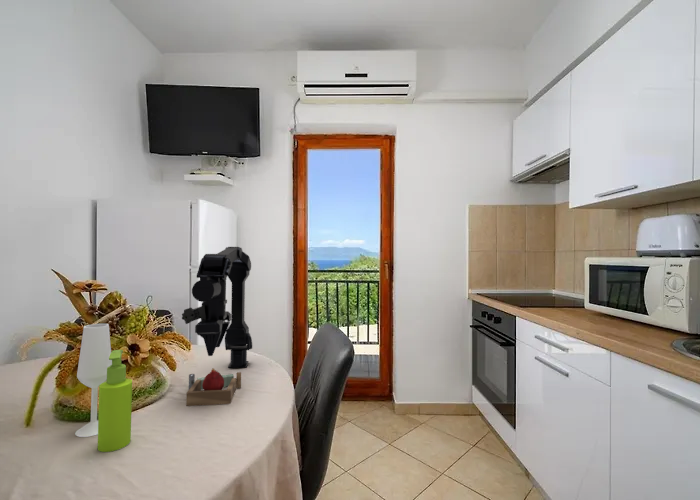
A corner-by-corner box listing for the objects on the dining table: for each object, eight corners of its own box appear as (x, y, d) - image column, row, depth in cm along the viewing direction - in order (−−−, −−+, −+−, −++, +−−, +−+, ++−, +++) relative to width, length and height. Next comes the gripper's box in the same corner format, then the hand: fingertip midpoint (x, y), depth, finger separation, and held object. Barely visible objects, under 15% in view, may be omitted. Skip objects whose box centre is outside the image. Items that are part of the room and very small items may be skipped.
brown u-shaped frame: (198, 388, 106) (198, 373, 106) (241, 386, 108) (241, 372, 108) (186, 406, 93) (186, 389, 94) (234, 403, 96) (235, 387, 96)
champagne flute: (104, 419, 85) (107, 321, 85) (116, 428, 81) (118, 325, 82) (70, 430, 80) (73, 326, 80) (81, 440, 76) (84, 330, 76)
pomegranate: (227, 393, 103) (227, 365, 103) (217, 401, 97) (218, 372, 97) (208, 391, 103) (209, 364, 103) (198, 399, 98) (198, 371, 98)
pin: (189, 388, 105) (189, 373, 105) (194, 388, 106) (195, 373, 106) (187, 390, 104) (188, 375, 104) (193, 390, 104) (193, 375, 104)
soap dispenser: (94, 457, 69) (96, 357, 70) (100, 441, 76) (102, 348, 76) (128, 450, 72) (131, 353, 72) (131, 434, 78) (134, 346, 79)
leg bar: (233, 383, 110) (233, 373, 110) (233, 386, 108) (233, 376, 108) (196, 387, 106) (197, 377, 106) (196, 390, 104) (196, 380, 104)
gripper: (194, 293, 108) (193, 343, 108) (175, 301, 90) (173, 362, 90) (231, 293, 110) (230, 342, 110) (219, 301, 92) (218, 360, 92)
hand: (214, 351), depth 100 cm, fingers open, 9 cm apart
